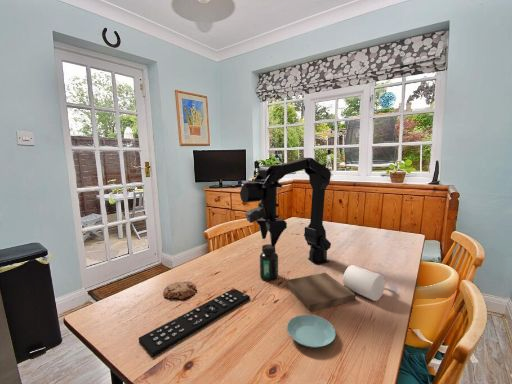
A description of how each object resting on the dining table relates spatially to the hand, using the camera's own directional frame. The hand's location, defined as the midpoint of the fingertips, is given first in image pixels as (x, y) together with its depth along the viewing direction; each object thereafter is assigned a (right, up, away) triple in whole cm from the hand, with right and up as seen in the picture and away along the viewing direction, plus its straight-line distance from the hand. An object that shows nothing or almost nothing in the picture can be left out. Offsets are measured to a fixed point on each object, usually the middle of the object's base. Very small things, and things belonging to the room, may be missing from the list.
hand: (268, 242), depth 94 cm
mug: (+32, -15, -10) cm, 36 cm away
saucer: (+9, -18, -30) cm, 36 cm away
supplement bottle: (0, -14, +2) cm, 14 cm away
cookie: (-30, -16, -7) cm, 35 cm away
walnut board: (+16, -15, -10) cm, 24 cm away
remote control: (-20, -18, -21) cm, 34 cm away
